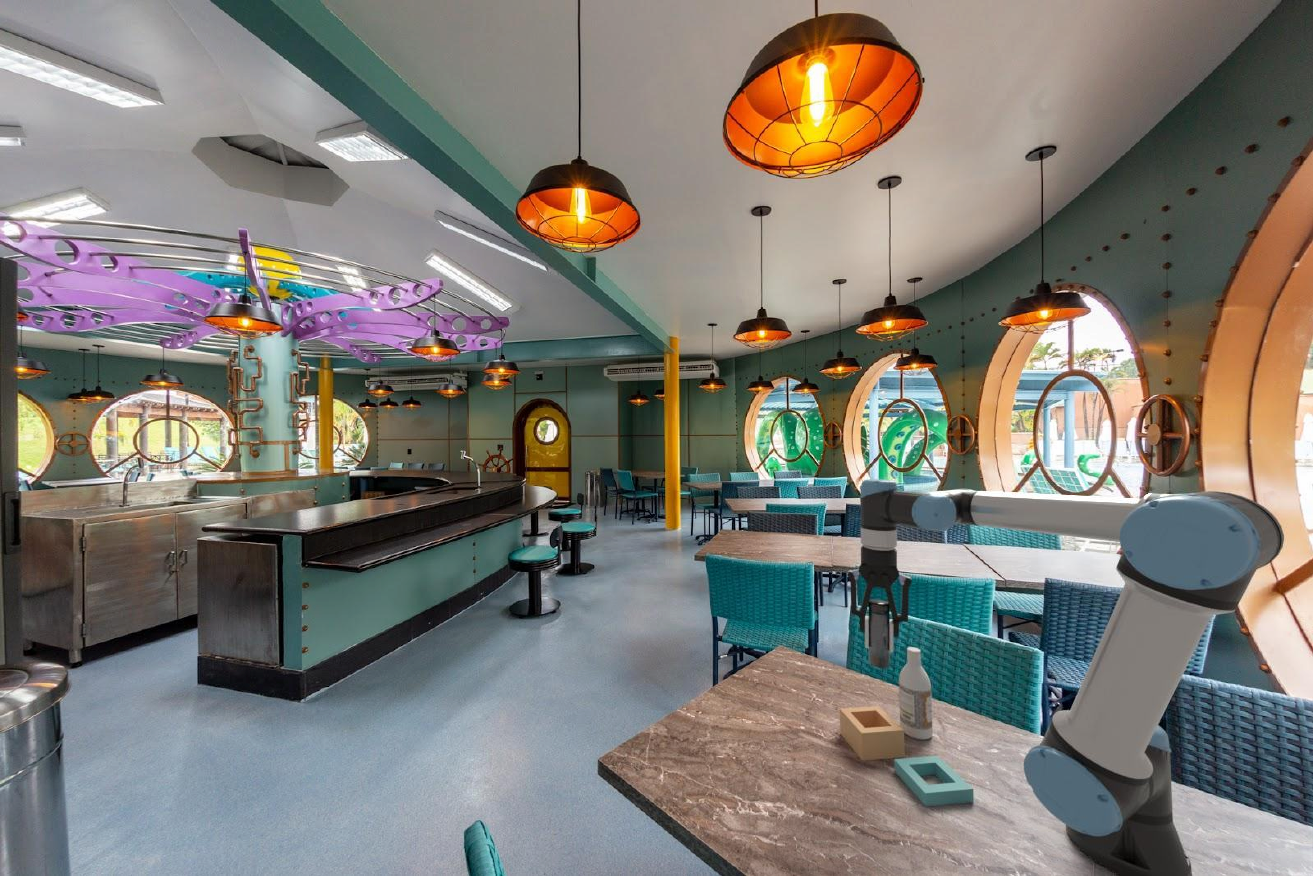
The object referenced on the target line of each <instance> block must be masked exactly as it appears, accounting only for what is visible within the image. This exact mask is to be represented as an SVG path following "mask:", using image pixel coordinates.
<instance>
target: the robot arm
mask: <svg viewBox="0 0 1313 876" xmlns="http://www.w3.org/2000/svg"><path fill="white" fill-rule="evenodd" d="M860 485H861V486H860V497H859V500H860V518H861V519H860V522H861V523H860V544H861V546H860V565H859V566H858V568H857V569H853V570H852V569H848V570H847V577H848V579H849V582H850V613H851V614H852V615H855V616H857V617H858V618H859V631H860V632H861V633H862V632H863V633H864V648H865V649H869V615H866V614H867V613H868V612H867V610H868V604H869V600H871V595H872V592H873V588H880V589H883V590H885V594H886V598H887V602H888V603H889V607H890V615H891V619H890V622H889V642H890V653H894V638H899V636H900V623H903V622H904V623H907V622H908V621H909V589H910V587H911V585H912V582H913V581H912V578H911V576H910V575H905V574H902V573H900V570H899V569H898V550H897V549H896V547H897V546H898V537H897V536H898V533H897V532H898V528H897V526H898V525H900V526H905V527H910V528H916V529H921V530H925V531H929V532H931V531H932V532H934V531H935V532H947V531H948V530H950V528H951V527H953V525H967V526H974V527H975V526H977V527H988V528H996V529H1002V530H1003V529H1004V530H1014V531H1022V532H1030V533H1039V534H1047V535H1056V536H1064V537H1065V536H1066V537H1073V538H1081V539H1088V540H1089V539H1091V540H1099V541H1106V542H1108V541H1109V542H1115V543H1119V545H1120V548H1121V551H1122V553H1121V554H1120V557H1119V559H1118V561H1117V562H1118V563H1117V564H1116V567H1115V570H1116V571H1117V573H1118V574H1119V575H1120V577H1121V578H1122V580H1123V581H1124V586H1123V587H1122V591H1121V593H1120V595H1119V597H1118V598H1117V599H1118V600H1117V602H1116V604H1115V606H1114V609H1113V611H1112V613H1111V615H1110V617H1109V620H1108V623H1107V625H1106V627H1105V629H1104V632H1103V633H1102V636H1101V639H1100V641H1099V643H1098V645H1097V648H1096V650H1095V652H1094V655H1093V657H1092V659H1091V662H1090V664H1089V667H1088V669H1087V671H1086V673H1085V675H1084V678H1083V680H1082V682H1081V684H1080V687H1079V690H1078V692H1077V693H1076V696H1075V699H1074V701H1073V703H1072V705H1071V708H1070V710H1069V709H1067V710H1058V711H1056V712H1055V713H1054V714H1053V716H1052V717H1051V721H1050V722H1049V725H1048V727H1047V729H1046V731H1045V734H1044V736H1043V738H1042V740H1041V742H1040V744H1039V745H1036V746H1033V747H1031V749H1029V750H1028V752H1027V754H1025V757H1024V761H1023V771H1024V775H1025V779H1026V782H1027V784H1028V785H1029V786H1030V787H1031V789H1032V792H1033V794H1034V795H1035V797H1036V798H1037V800H1038V801H1039V802H1040V803H1041V804H1042V805H1043V807H1044V808H1045V809H1046V810H1048V812H1049V813H1050V814H1051V815H1052V816H1053V817H1055V818H1056V819H1057V820H1058V821H1060V822H1061V823H1063V824H1064V825H1065V829H1066V833H1067V834H1068V836H1069V839H1070V840H1071V841H1072V842H1073V843H1074V844H1075V846H1076V847H1078V849H1079V848H1080V849H1079V850H1081V852H1083V853H1084V855H1086V856H1087V855H1088V856H1087V857H1088V858H1090V859H1091V858H1092V859H1091V860H1093V861H1094V862H1095V861H1096V863H1097V862H1098V863H1099V865H1100V866H1101V865H1103V866H1104V868H1105V869H1106V868H1107V869H1106V870H1108V871H1110V872H1111V873H1113V874H1115V875H1117V876H1119V875H1120V876H1193V873H1192V863H1191V860H1190V858H1189V855H1188V854H1187V851H1186V850H1185V849H1184V847H1183V844H1182V842H1181V839H1180V836H1179V833H1178V830H1177V828H1176V825H1175V824H1174V817H1173V793H1172V791H1173V790H1172V771H1171V769H1172V768H1171V754H1172V749H1171V748H1170V741H1169V735H1168V734H1167V732H1166V730H1164V729H1163V728H1162V727H1161V726H1160V725H1159V724H1160V722H1161V719H1162V718H1163V715H1164V713H1165V712H1166V709H1167V707H1168V705H1169V703H1170V701H1171V699H1172V697H1173V695H1174V693H1175V692H1176V689H1177V687H1178V685H1179V683H1180V682H1181V679H1182V677H1183V674H1184V673H1185V671H1186V669H1187V666H1189V663H1190V661H1191V659H1192V657H1193V656H1194V654H1195V651H1196V648H1197V647H1198V645H1199V642H1200V640H1201V639H1202V637H1203V635H1204V633H1205V630H1206V629H1207V627H1208V625H1209V623H1210V620H1211V619H1212V617H1213V616H1217V615H1224V614H1231V613H1234V612H1235V611H1236V610H1237V608H1238V605H1239V604H1240V602H1241V601H1242V598H1243V596H1244V594H1245V593H1246V590H1247V589H1248V587H1249V585H1250V583H1251V581H1252V579H1253V577H1254V575H1255V573H1256V572H1257V570H1258V569H1261V568H1264V567H1265V566H1266V567H1267V565H1269V564H1270V563H1272V562H1273V561H1274V560H1275V559H1276V558H1277V557H1278V555H1280V553H1281V551H1282V549H1283V548H1284V547H1283V546H1284V542H1285V534H1284V531H1283V528H1282V527H1283V526H1282V525H1281V524H1280V522H1279V520H1278V519H1277V518H1276V516H1275V515H1274V514H1273V513H1272V512H1271V511H1270V510H1269V509H1267V507H1265V506H1264V505H1261V504H1259V503H1258V502H1256V501H1254V500H1253V499H1250V498H1248V497H1245V496H1243V495H1238V494H1235V493H1232V492H1225V491H1216V490H1207V491H1197V492H1191V493H1152V492H1151V493H1149V492H1148V494H1146V495H1144V496H1143V497H1141V498H1128V497H1109V496H1108V497H1106V496H1091V495H1090V496H1088V495H1072V494H1071V495H1069V494H1068V495H1067V494H1052V493H1051V494H1048V493H1047V494H1046V493H1029V492H1027V493H1026V492H1013V491H1012V492H1009V491H992V490H990V491H989V490H988V491H987V490H984V491H983V490H973V489H969V488H954V489H947V490H935V491H934V490H933V491H922V492H921V491H920V492H919V491H918V492H917V491H906V490H899V489H898V486H897V482H896V481H895V480H891V479H878V478H877V479H876V478H872V479H865V480H863V481H862V482H861V484H860ZM859 575H860V576H861V578H862V579H863V580H864V581H865V583H866V584H865V589H864V594H863V597H862V602H861V606H860V608H858V603H857V602H858V598H857V597H858V596H857V594H858V593H857V581H858V580H859ZM898 579H899V583H900V585H901V599H900V600H901V603H900V611H901V612H900V613H899V614H898V611H897V606H896V603H895V599H894V594H893V590H892V585H893V584H894V583H896V582H897V580H898ZM1098 863H1097V864H1098ZM1103 866H1102V867H1103Z"/></svg>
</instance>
